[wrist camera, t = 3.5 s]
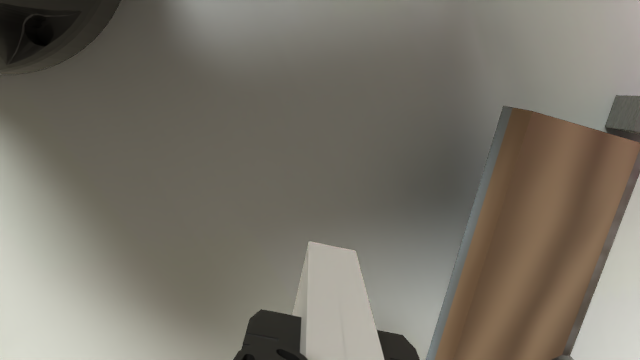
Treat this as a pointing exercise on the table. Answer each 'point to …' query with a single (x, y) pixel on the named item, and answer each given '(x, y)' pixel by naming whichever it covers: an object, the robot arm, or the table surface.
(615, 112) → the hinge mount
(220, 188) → the table surface
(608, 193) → the walnut flap
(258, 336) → the robot arm
